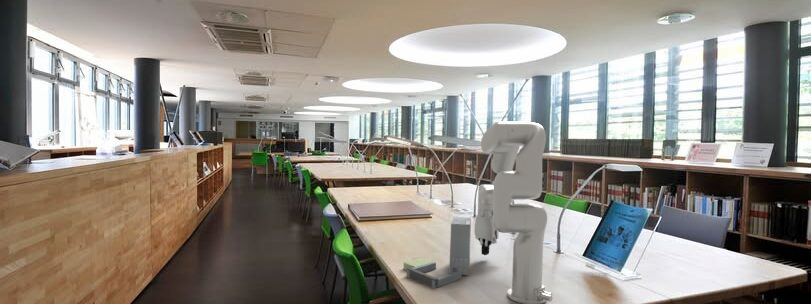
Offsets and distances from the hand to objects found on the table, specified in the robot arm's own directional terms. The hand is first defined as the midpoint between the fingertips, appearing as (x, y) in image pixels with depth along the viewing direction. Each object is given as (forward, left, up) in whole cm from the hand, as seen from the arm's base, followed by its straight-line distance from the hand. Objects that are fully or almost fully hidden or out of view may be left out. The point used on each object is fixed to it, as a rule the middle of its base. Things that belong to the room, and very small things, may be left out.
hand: (485, 254), depth 167 cm
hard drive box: (0, +17, -3) cm, 17 cm away
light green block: (+11, +30, -3) cm, 32 cm away
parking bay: (0, +32, -3) cm, 32 cm away
